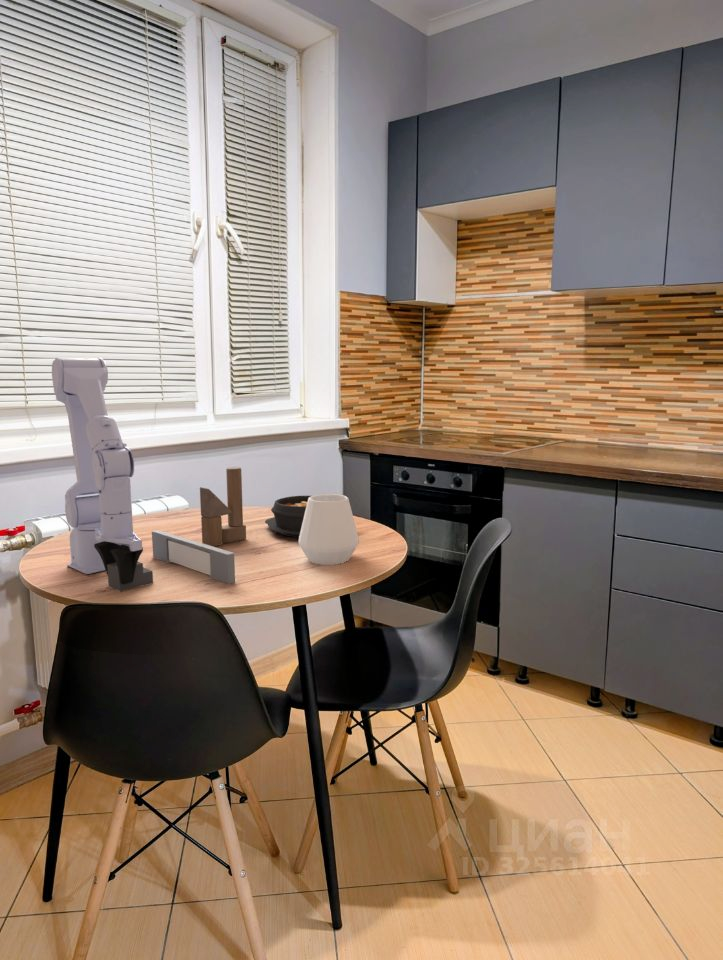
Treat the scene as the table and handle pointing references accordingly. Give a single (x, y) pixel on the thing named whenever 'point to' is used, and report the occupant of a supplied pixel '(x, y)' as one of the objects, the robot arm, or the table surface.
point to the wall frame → (219, 558)
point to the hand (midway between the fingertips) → (120, 580)
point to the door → (189, 556)
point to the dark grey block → (140, 579)
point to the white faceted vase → (328, 530)
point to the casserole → (288, 515)
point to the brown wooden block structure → (223, 512)
